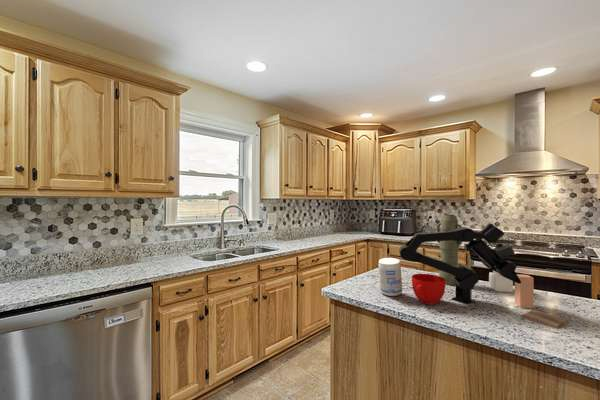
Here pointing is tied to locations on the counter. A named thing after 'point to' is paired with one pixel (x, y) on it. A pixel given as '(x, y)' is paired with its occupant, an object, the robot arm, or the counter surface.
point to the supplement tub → (390, 276)
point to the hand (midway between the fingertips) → (514, 279)
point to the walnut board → (545, 318)
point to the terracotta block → (524, 291)
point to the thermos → (449, 246)
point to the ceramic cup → (428, 287)
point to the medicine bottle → (500, 282)
